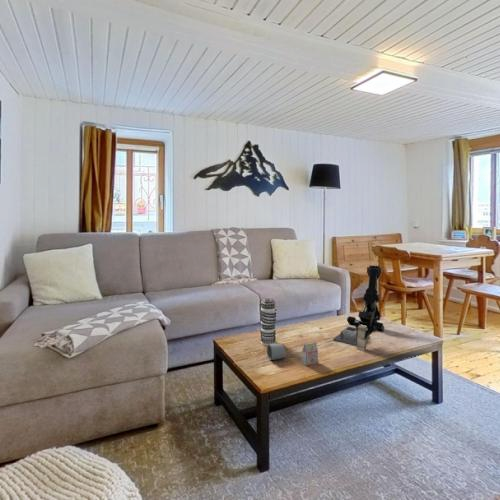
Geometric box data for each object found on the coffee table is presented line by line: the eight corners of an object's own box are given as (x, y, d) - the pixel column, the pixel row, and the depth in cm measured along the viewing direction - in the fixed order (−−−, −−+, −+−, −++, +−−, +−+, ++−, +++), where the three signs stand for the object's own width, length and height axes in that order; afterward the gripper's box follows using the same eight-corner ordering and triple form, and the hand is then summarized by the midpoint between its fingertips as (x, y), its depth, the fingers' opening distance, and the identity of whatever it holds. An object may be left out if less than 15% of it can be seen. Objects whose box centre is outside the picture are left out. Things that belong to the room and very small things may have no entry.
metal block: (359, 347, 178) (360, 324, 177) (366, 348, 176) (366, 326, 175) (356, 349, 176) (357, 326, 174) (363, 351, 173) (364, 328, 172)
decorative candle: (262, 338, 191) (262, 296, 188) (278, 340, 188) (278, 297, 185) (257, 344, 182) (257, 300, 179) (273, 346, 179) (274, 302, 176)
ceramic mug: (287, 360, 163) (287, 345, 163) (272, 363, 161) (272, 347, 160) (278, 352, 173) (278, 338, 172) (264, 354, 171) (264, 340, 170)
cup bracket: (345, 330, 202) (345, 322, 201) (368, 336, 193) (369, 327, 192) (333, 340, 188) (333, 331, 187) (357, 346, 179) (358, 336, 178)
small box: (301, 362, 161) (302, 343, 160) (313, 360, 164) (313, 340, 162) (305, 365, 158) (306, 346, 156) (317, 363, 160) (318, 343, 159)
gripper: (348, 302, 182) (340, 327, 174) (383, 308, 170) (376, 335, 163) (353, 312, 189) (345, 336, 182) (387, 318, 177) (380, 345, 170)
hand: (361, 338), depth 174 cm, fingers closed on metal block, 4 cm apart
